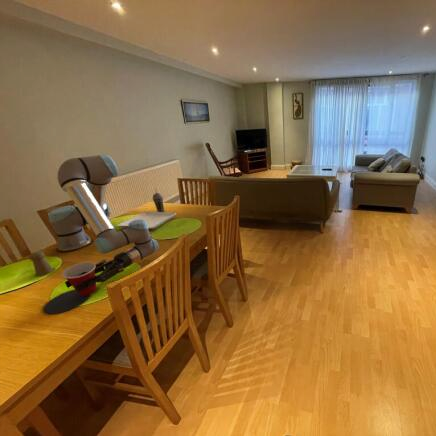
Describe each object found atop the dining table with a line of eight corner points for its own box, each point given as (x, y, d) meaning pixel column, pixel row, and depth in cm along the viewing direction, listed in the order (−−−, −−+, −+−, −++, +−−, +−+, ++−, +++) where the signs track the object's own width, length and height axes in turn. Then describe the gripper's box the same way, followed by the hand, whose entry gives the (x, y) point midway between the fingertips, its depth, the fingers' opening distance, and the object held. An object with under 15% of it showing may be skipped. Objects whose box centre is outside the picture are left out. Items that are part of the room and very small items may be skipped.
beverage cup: (155, 213, 190) (148, 189, 182) (157, 210, 196) (151, 187, 189) (165, 212, 192) (159, 188, 184) (166, 209, 198) (161, 186, 190)
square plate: (153, 232, 158) (152, 227, 157) (117, 230, 162) (115, 225, 161) (177, 217, 183) (176, 212, 181) (145, 215, 187) (144, 210, 186)
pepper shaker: (52, 267, 122) (43, 248, 118) (54, 271, 118) (45, 252, 114) (35, 272, 118) (25, 253, 113) (37, 277, 114) (27, 257, 110)
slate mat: (35, 307, 96) (35, 307, 96) (78, 285, 108) (78, 285, 108) (56, 318, 90) (55, 318, 90) (98, 293, 103) (98, 293, 103)
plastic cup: (86, 302, 98) (75, 278, 93) (66, 298, 100) (54, 274, 95) (110, 285, 107) (101, 262, 103) (91, 282, 110) (81, 260, 105)
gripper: (142, 269, 114) (89, 300, 95) (116, 260, 121) (61, 288, 102) (138, 255, 111) (82, 285, 92) (111, 247, 118) (54, 273, 99)
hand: (71, 287), depth 97 cm, fingers closed on plastic cup, 6 cm apart
